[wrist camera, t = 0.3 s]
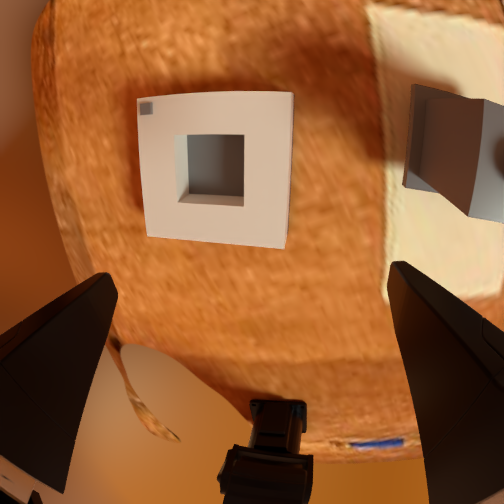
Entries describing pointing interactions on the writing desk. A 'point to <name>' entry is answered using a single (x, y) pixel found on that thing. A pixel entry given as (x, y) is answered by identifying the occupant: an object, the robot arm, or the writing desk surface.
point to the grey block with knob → (457, 151)
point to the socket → (217, 166)
